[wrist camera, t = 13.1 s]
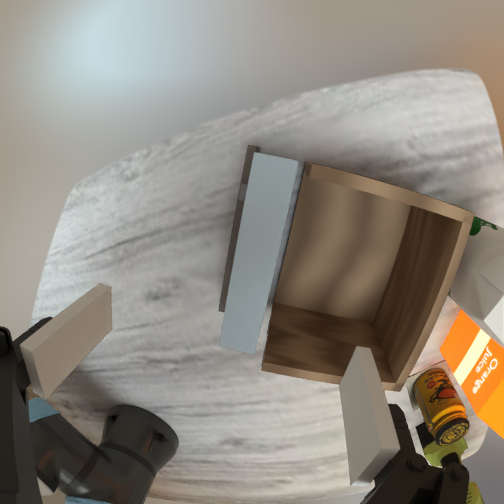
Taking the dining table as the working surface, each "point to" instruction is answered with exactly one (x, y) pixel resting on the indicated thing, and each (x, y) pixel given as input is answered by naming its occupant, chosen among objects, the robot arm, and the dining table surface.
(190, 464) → the dining table surface
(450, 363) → the orange juice
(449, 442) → the condiment
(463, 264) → the milk carton
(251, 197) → the door
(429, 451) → the cordless drill
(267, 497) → the dining table surface
